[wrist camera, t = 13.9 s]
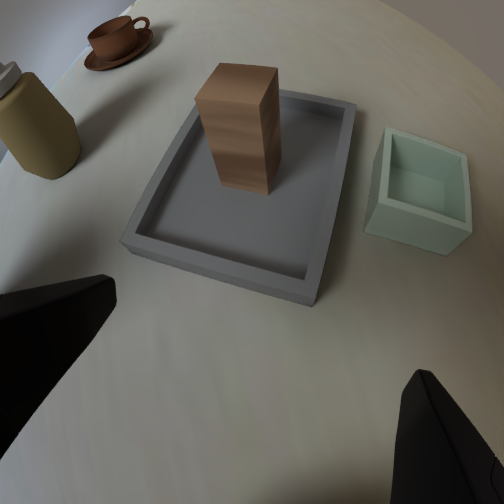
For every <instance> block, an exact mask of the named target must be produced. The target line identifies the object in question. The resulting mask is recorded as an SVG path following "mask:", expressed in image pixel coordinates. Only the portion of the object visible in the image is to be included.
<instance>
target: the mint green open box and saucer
mask: <svg viewBox="0 0 504 504" xmlns="http://www.w3.org/2000/svg"><path fill="white" fill-rule="evenodd" d="M140 20H143V21H145V22H146V25H145V27H144V28H139V29H135V28H134V24H135V23H136V22H138V21H140ZM149 25H150V22H149V19H148V18H146V17H138V18H136V19H134V20H133V21H132V19H131V17H130V16H120V17H117V18H114V19H112V20H109V21H107V22H105V23H103V24H101V25H100V26H98V27H97V28H95V29H94V30H93V31H92V32H91V33H90V34H89V35H88V40H89V42H90V44H91V46H92V48H93V51H92V52H91V53H90V54H89V55H88V56H87V58H86V59H85V62H84V65H85V67H86V68H87V69H89V70H93V71H101V70H106V69H110V68H113V67H115V66H118V65H120V64H122V63H124V62H126V61H128V60H130V59H132V58H133V57H135V56H136V55H138V54H139V53H140V52H142V51H143V50H144V49H145V48H146V47H147V46H148V45H149V43H150V41H151V40H152V37H153V33H152V31H151V30H150V29H148V27H149Z"/></svg>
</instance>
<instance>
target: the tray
mask: <svg viewBox="0 0 504 504" xmlns="http://www.w3.org/2000/svg"><path fill="white" fill-rule="evenodd" d="M279 104H280V128H281V157H282V158H281V161H280V164H279V167H278V170H277V172H276V175H275V178H274V181H273V184H272V186H271V189H270V192H269V195H263V194H259V193H255V192H250V191H245V190H241V189H236V188H231V187H227V186H222V185H221V182H220V178H219V175H218V172H217V169H216V166H215V163H214V159H213V156H212V153H211V150H210V147H209V143H208V140H207V137H206V134H205V131H204V127H203V124H202V121H201V118H200V115H199V111H198V108H197V105H195V106H194V108H193V109H192V111H191V112H190V114H189V115H188V117H187V119H186V120H185V122H184V123H183V125H182V127H181V128H180V130H179V131H178V133H177V135H176V136H175V138H174V140H173V141H172V143H171V145H170V146H169V148H168V150H167V151H166V153H165V155H164V157H163V158H162V160H161V162H160V164H159V165H158V167H157V169H156V171H155V173H154V174H153V176H152V178H151V180H150V182H149V184H148V185H147V187H146V189H145V191H144V193H143V195H142V197H141V199H140V201H139V203H138V205H137V207H136V208H135V210H134V212H133V214H132V216H131V218H130V221H129V223H128V225H127V227H126V229H125V231H124V233H123V235H122V237H121V239H120V241H119V242H120V243H121V244H122V245H124V246H125V247H126V248H127V249H128V250H129V251H130V252H131V253H132V254H135V255H139V256H142V257H145V258H148V259H151V260H154V261H157V262H160V263H163V264H167V265H170V266H173V267H176V268H179V269H183V270H186V271H189V272H192V273H195V274H199V275H202V276H205V277H209V278H212V279H215V280H219V281H222V282H225V283H229V284H232V285H235V286H239V287H242V288H246V289H249V290H253V291H256V292H260V293H263V294H267V295H270V296H274V297H277V298H281V299H284V300H288V301H292V302H295V303H299V304H302V305H306V306H310V307H312V306H313V303H314V301H315V298H316V294H317V291H318V287H319V283H320V279H321V275H322V271H323V267H324V263H325V259H326V255H327V251H328V247H329V243H330V239H331V234H332V230H333V226H334V221H335V217H336V212H337V208H338V203H339V198H340V193H341V189H342V184H343V179H344V174H345V168H346V163H347V158H348V152H349V147H350V141H351V135H352V129H353V123H354V117H355V111H356V104H353V103H349V102H344V101H340V100H335V99H330V98H326V97H321V96H315V95H310V94H305V93H299V92H293V91H286V90H280V89H279Z"/></svg>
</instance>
